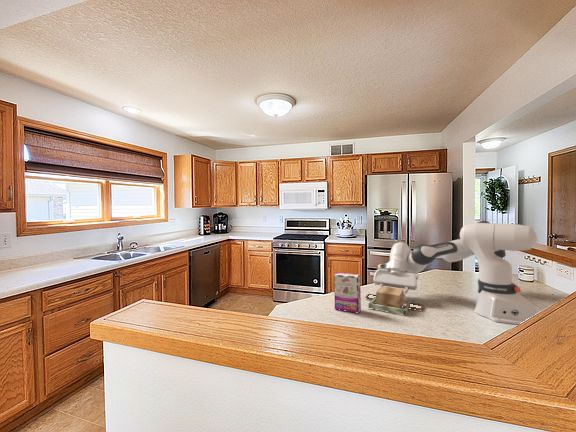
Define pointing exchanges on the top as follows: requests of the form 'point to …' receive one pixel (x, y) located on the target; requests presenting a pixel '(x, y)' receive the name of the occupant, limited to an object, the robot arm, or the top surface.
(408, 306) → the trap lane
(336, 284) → the candy bar box
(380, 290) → the block
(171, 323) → the top surface
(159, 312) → the top surface
